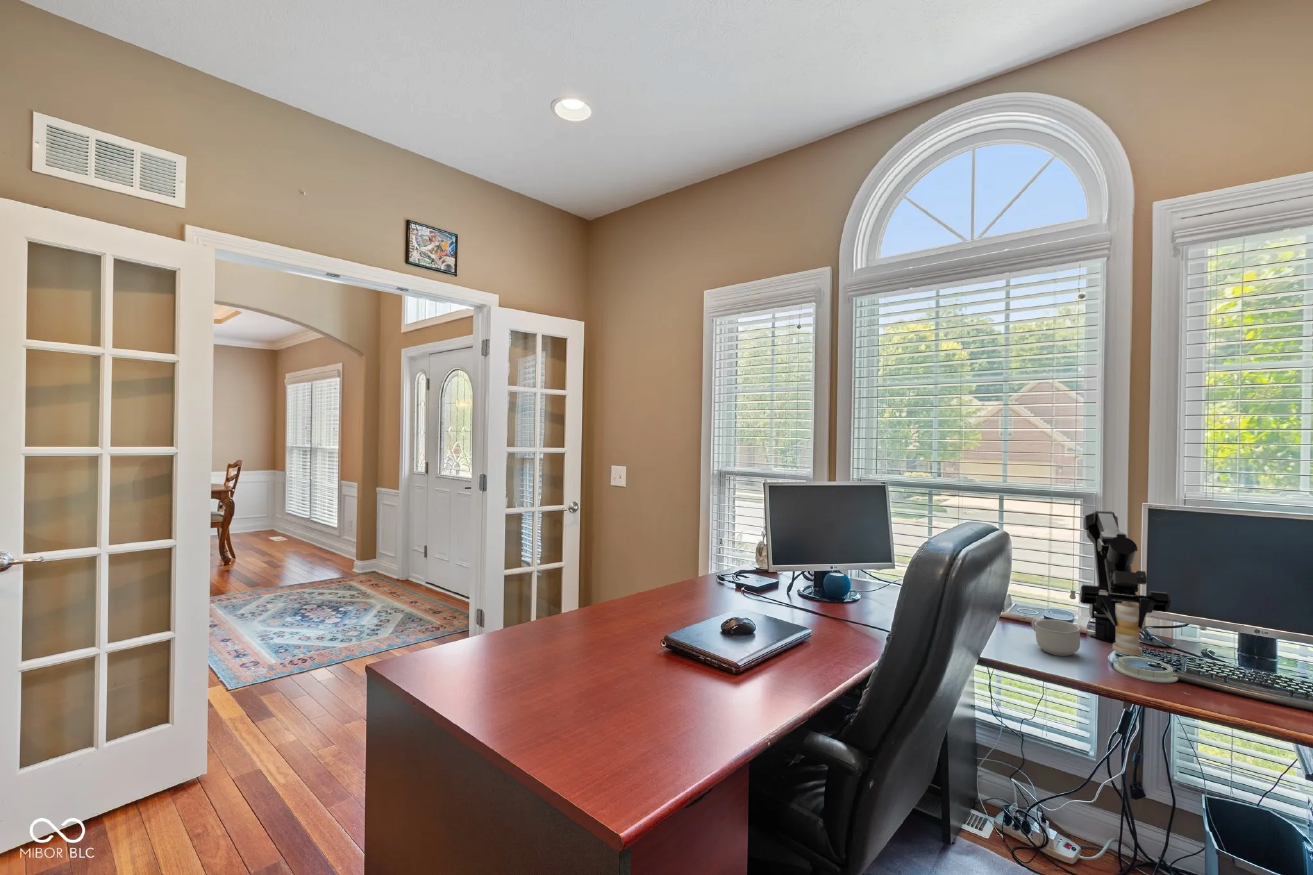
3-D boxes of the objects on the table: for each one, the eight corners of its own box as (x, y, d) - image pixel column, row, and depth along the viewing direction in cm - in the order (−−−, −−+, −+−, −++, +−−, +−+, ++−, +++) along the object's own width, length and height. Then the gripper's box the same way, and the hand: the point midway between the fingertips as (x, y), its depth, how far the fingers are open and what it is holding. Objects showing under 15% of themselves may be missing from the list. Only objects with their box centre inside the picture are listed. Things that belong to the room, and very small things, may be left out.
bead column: (1117, 645, 158) (1116, 597, 158) (1145, 651, 153) (1145, 602, 153) (1109, 650, 154) (1108, 601, 154) (1137, 657, 149) (1137, 607, 149)
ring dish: (1132, 660, 162) (1132, 652, 162) (1189, 677, 150) (1189, 669, 150) (1102, 667, 157) (1102, 659, 157) (1159, 686, 145) (1159, 677, 145)
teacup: (1089, 659, 163) (1089, 630, 163) (1050, 659, 163) (1050, 630, 163) (1056, 642, 177) (1056, 615, 177) (1020, 642, 177) (1019, 615, 177)
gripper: (1080, 555, 161) (1087, 605, 152) (1169, 561, 152) (1181, 616, 143) (1077, 577, 168) (1082, 627, 159) (1161, 585, 159) (1172, 638, 150)
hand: (1128, 626), depth 152 cm, fingers closed on bead column, 5 cm apart
